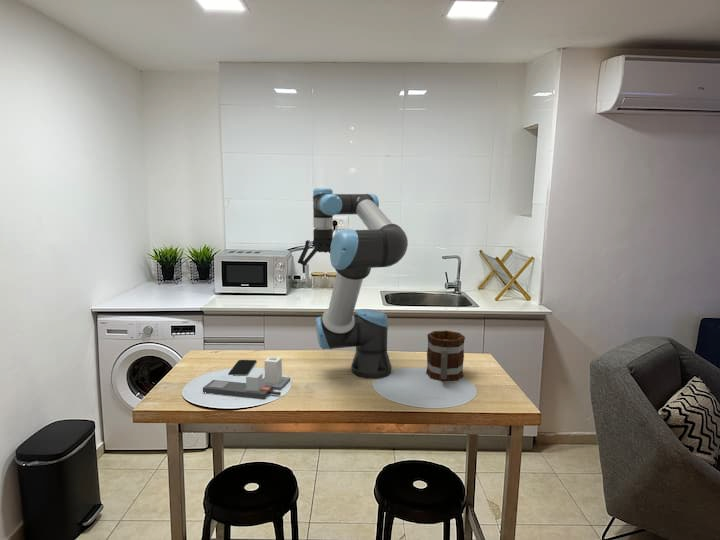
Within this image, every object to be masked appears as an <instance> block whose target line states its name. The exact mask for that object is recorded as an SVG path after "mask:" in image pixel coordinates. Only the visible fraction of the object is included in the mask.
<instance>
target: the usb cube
mask: <svg viewBox="0 0 720 540" xmlns="http://www.w3.org/2000/svg"><path fill="white" fill-rule="evenodd" d="M263 378H264V377H263V373H262V372H253V371H250V373H249V374H248V375H247V376H245V383H246V389H247V390H255V391H258V390H259V389H260V388H261V387H262V386H263Z"/></svg>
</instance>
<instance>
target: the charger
mask: <svg viewBox="0 0 720 540" xmlns="http://www.w3.org/2000/svg"><path fill="white" fill-rule="evenodd" d="M282 358H283V357H279V356H276V357H275V356H269V357H267V358H266V359H265V360H264V361H263V362H264V377H265V383H269V384H278V383H279V382H280V381H281V380H282V377H283V367H282V365H283V363H282V361H283V359H282Z"/></svg>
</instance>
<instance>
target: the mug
mask: <svg viewBox="0 0 720 540" xmlns="http://www.w3.org/2000/svg"><path fill="white" fill-rule="evenodd" d="M465 339H466V337H465V335H463V334H462V333H461V332H457V331H452V330H433V331H431V332H430V333H428V334H427V351H426V360H427V363H426V371H425V372H426V373H425V374H426V375H427V376H428V378H429V379H430V380H435V381H439V382H442V383H443V382H444V383H446V382H458V381H459V380H460V379H462V378H463V377H464V372H463V371H464V361H465V352H464V351H465V350H464V347H465V345H464V344H465V341H466V340H465Z"/></svg>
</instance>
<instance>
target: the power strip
mask: <svg viewBox="0 0 720 540" xmlns="http://www.w3.org/2000/svg"><path fill="white" fill-rule="evenodd" d="M203 392H206V393H205V394H209V393H214V394H213V395H218V394H221V395H220V396H229V397H238V398H239V397H240V398H249V399H259V400H265V399H266V398H268V397H269V395H277V396H281V394H282V392H281V391H276V390H273V386H271V385H263V386H262V387H261V388H260V389H259V390H258V391H255V390H247V389H246V382H241V381H231V380H230V381H228V380H217V379H213V380H211V381H210V382H208V383H207V384H206V385H204V386H203V387H202V393H203Z"/></svg>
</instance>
